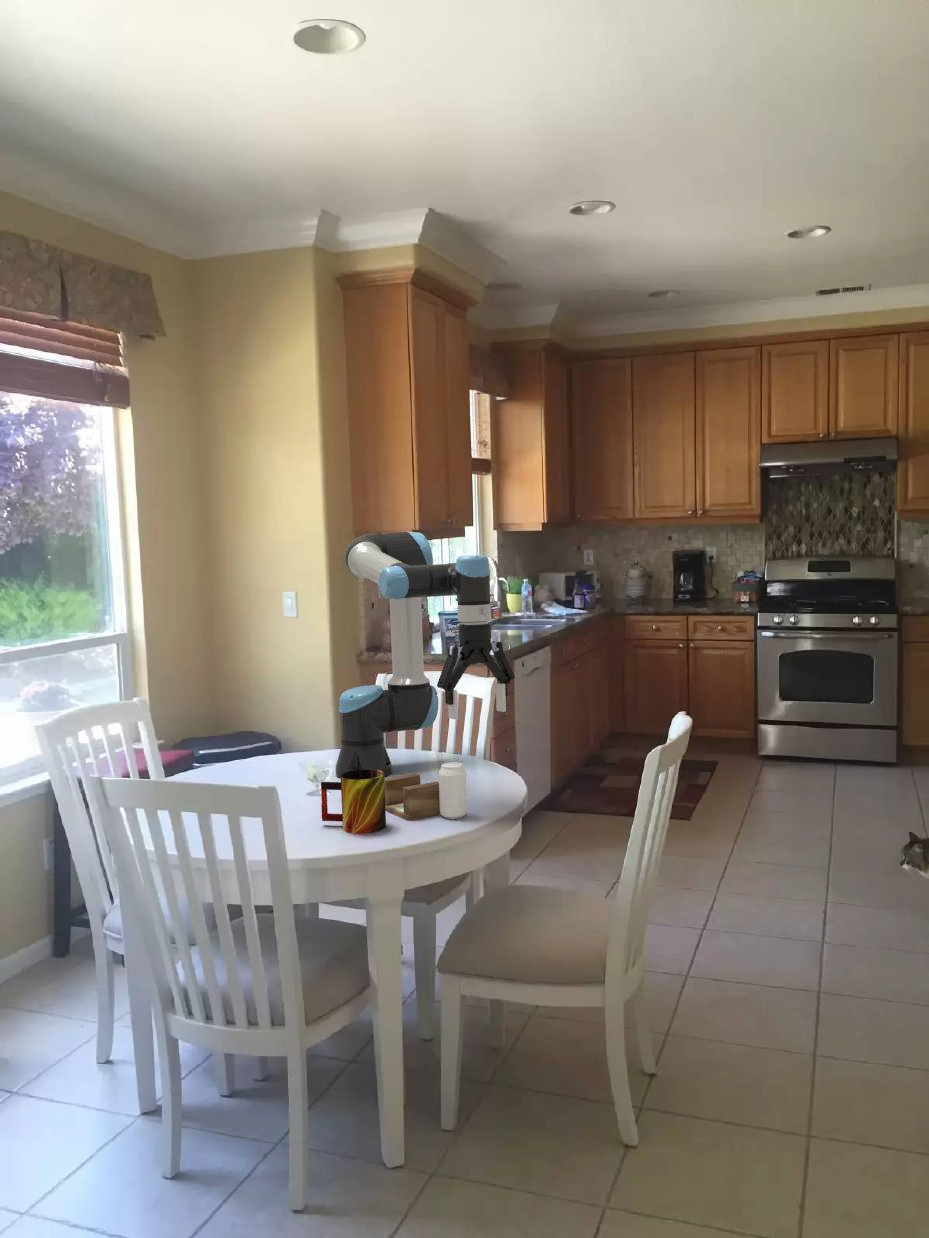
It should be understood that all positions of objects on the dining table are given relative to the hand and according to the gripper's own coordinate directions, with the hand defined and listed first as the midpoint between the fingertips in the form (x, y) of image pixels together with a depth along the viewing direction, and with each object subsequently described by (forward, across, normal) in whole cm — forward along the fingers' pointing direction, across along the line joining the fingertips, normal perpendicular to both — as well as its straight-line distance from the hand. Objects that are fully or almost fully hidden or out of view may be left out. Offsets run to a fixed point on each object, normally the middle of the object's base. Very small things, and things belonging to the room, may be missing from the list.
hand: (477, 714), depth 236 cm
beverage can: (+23, -7, 0) cm, 24 cm away
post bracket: (+22, -12, +10) cm, 27 cm away
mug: (+23, -29, +7) cm, 38 cm away
